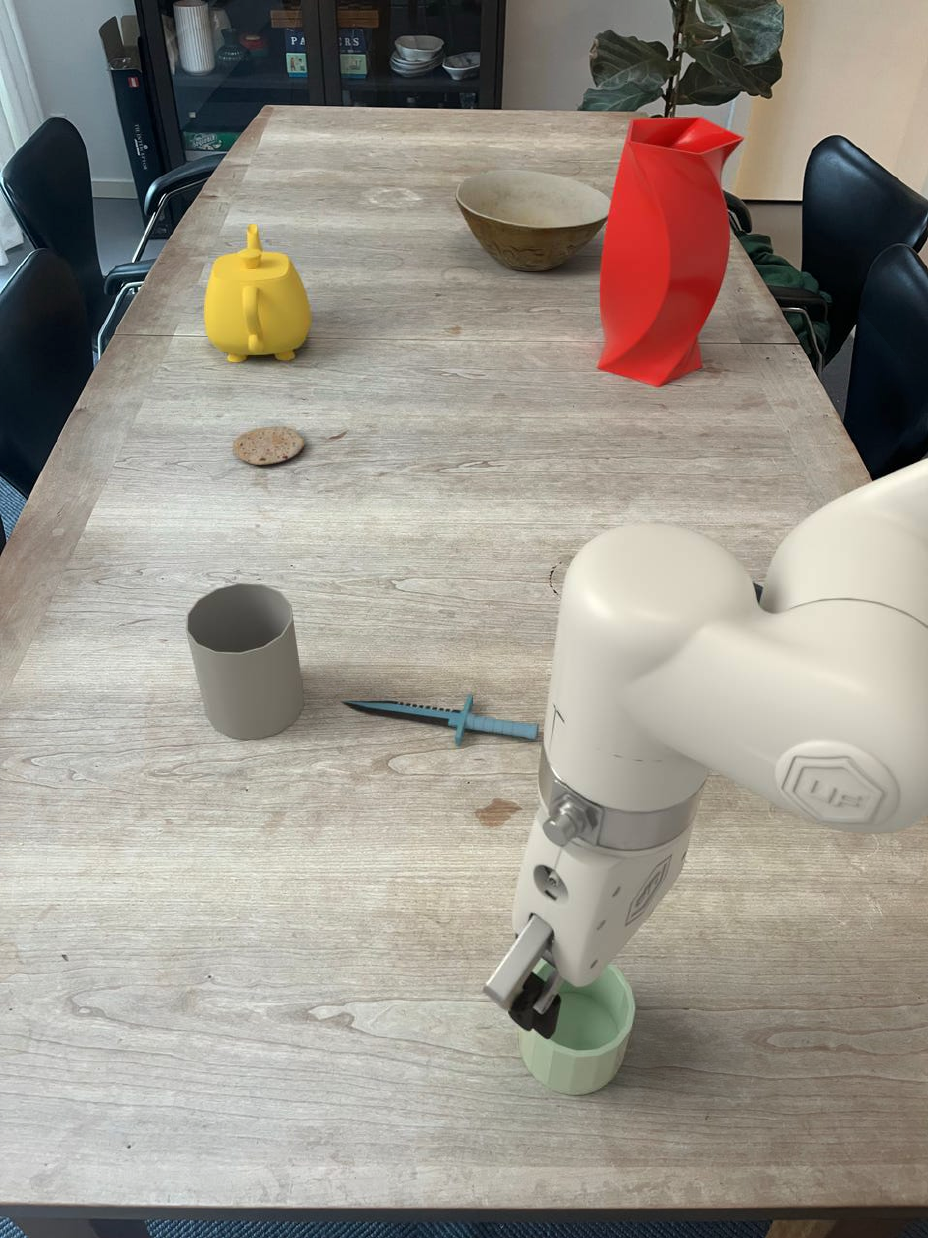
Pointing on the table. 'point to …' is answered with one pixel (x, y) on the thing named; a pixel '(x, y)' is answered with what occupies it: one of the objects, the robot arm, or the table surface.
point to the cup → (246, 660)
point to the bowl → (531, 216)
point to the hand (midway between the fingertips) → (580, 957)
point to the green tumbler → (582, 1034)
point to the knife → (447, 717)
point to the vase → (664, 247)
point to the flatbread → (268, 445)
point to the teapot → (256, 303)
